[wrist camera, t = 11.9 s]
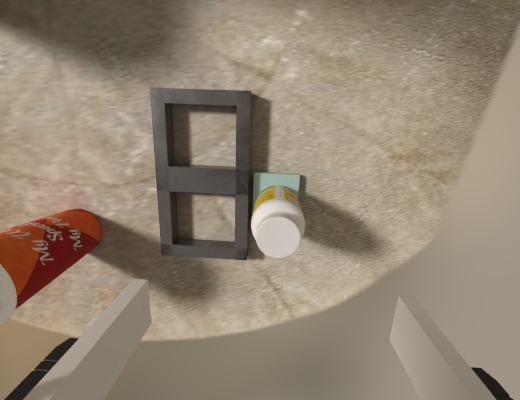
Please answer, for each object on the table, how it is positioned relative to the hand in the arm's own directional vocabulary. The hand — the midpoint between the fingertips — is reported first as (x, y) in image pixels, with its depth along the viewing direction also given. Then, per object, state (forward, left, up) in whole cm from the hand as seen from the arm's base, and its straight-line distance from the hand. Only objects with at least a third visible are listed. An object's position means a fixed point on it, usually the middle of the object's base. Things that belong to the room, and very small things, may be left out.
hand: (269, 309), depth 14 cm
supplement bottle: (0, 0, -20) cm, 20 cm away
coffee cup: (+5, -26, -21) cm, 34 cm away
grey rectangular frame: (-3, -9, -20) cm, 22 cm away
